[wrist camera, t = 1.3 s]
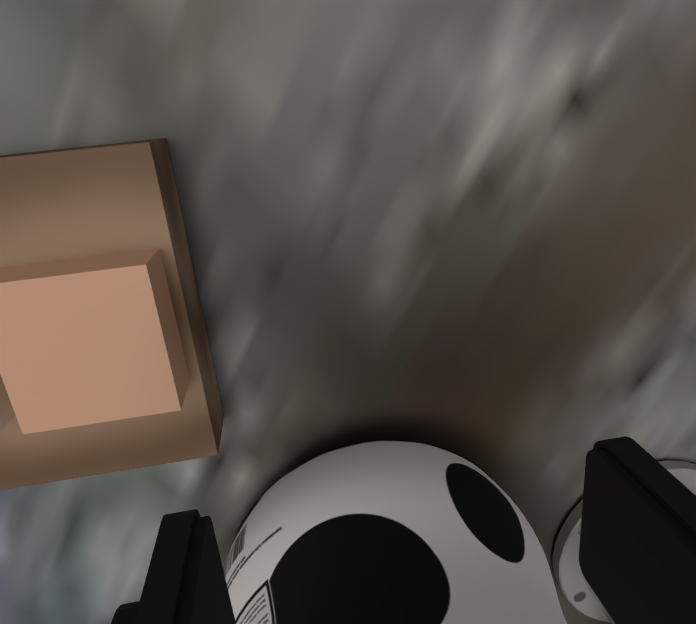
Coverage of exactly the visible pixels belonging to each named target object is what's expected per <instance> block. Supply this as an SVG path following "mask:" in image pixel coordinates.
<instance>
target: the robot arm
mask: <svg viewBox="0 0 696 624" xmlns="http://www.w3.org/2000/svg"><path fill="white" fill-rule="evenodd" d="M552 559H553V572H554V575H555V578H556V581H557V584H558V586H559V587H560V589H561V590H562V592H563V594H564V596H565V597H566V599H567V600H568V601H569V602H570V604H571V605H572V606H573V607H574V608H575V609H576V610H578V611H579V612H581V613H582V614H584V615H586V616H588V617H591V618H593V619H596V620H599V621H605V622H611V623H612V624H696V464H693V463H689V462H685V461H660V462H658V461H657V460H655V459H654V458H653V457H652V456H651V455H650V454H649V453H648V452H646V451H645V450H644V449H643V448H642V447H641V446H640V445H639V444H638V443H636V442H635V441H634V440H633V439H631V438H630V437H620V438H614V439H608V440H602V441H598V442H596V443H595V445H594V447H593V450H591V451H588V453H587V456H586V466H585V480H584V493H583V499H582V500H581V501H580V503H579V504H578V505H577V506H576V507H575V508H574V510H573V511H572V512H571V513H570V515H569V516H568V518H567V520H566V521H565V523H564V524H563V526H562V528H561V530H560V532H559V535H558V537H557V540H556V542H555V546H554V552H553V558H552ZM111 624H236V622H235V617H234V613H233V609H232V605H231V601H230V596H229V592H228V588H227V584H226V579H225V575H224V571H223V567H222V563H221V558H220V554H219V550H218V546H217V541H216V537H215V533H214V529H213V524H212V521H211V518H210V516H205V517H200V514H199V512H198V510H196V509H195V510H189V511H183V512H178V513H172V514H166V515H164V516H163V518H162V521H161V525H160V528H159V532H158V536H157V539H156V543H155V547H154V551H153V554H152V558H151V562H150V566H149V569H148V573H147V577H146V580H145V584H144V588H143V592H142V595H141V599H140V601H138V602H133V603H127V604H123V605H120V606H119V607H118V609H117V610H116V612H115V614H114V617H113V619H112V622H111Z"/></svg>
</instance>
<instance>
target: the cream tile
mask: <svg viewBox="0 0 696 624" xmlns="http://www.w3.org/2000/svg"><path fill="white" fill-rule="evenodd" d="M14 416H15V412H14V409H13V407H12V404H11V401H10V399H9V396H8V393H7V391H6V388H5V385H4V383H3V380H2V377H1V374H0V433H1V432H2V430H3V429H4V428H5V427H6V426H7V425H8V423H9V422H10V421H11V420H12V419H13V417H14Z"/></svg>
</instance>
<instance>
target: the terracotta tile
mask: <svg viewBox="0 0 696 624" xmlns="http://www.w3.org/2000/svg"><path fill="white" fill-rule="evenodd" d="M0 374H1V377H2V380H3V383H4V385H5V388H6V391H7V393H8V396H9V399H10V401H11V404H12V407H13V409H14V412H15V415H16V418H17V420H18V423H19V426H20V428H21V431H22V434H29V433H36V432H42V431H49V430H55V429H62V428H69V427H75V426H82V425H88V424H95V423H101V422H108V421H114V420H121V419H127V418H134V417H140V416H147V415H154V414H160V413H167V412H173V411H180V410H181V409H182V406H183V402H184V399H185V396H186V392H187V389H188V386H189V382H190V379H189V375H188V371H187V366H186V362H185V357H184V353H183V349H182V344H181V340H180V336H179V331H178V327H177V323H176V318H175V314H174V309H173V305H172V301H171V296H170V292H169V288H168V283H167V279H166V274H165V270H164V266H163V261H162V257H161V253H160V248H156V249H148V250H140V251H132V252H124V253H116V254H108V255H100V256H92V257H84V258H76V259H68V260H60V261H52V262H44V263H36V264H28V265H20V266H12V267H4V268H1V269H0Z"/></svg>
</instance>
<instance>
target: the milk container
mask: <svg viewBox="0 0 696 624" xmlns="http://www.w3.org/2000/svg"><path fill="white" fill-rule="evenodd" d="M223 571H224V575H225V579H226V584H227V588H228V592H229V596H230V601H231V605H232V609H233V613H234V617H235V622H236V624H567V623H566V620H565V618H564V616H563V613H562V610H561V607H560V604H559V600H558V596H557V593H556V589H555V585H554V581H553V578H552V574H551V571H550V568H549V565H548V562H547V559H546V556H545V553H544V551H543V548H542V546H541V544H540V542H539V540H538V538H537V536H536V534H535V533H534V531H533V529H532V527H531V526H530V524H529V523H528V521H527V520H526V518H525V517H524V515H523V514H522V512H521V511H520V509H519V508H518V507H517V506H516V504H515V503H514V502H513V501H512V500H511V499H510V497H509V496H508V495H507V494H506V493H505V492H504V491H503V490H502V489H501V488H500V487H499V486H498V485H497V484H496V483H495V482H494V481H493V480H492V479H491V478H490V477H489V476H487V475H486V474H485V473H484V472H483V471H482V470H481V469H479V468H478V467H477V466H475V465H474V464H473V463H471V462H469V461H467V460H466V459H464V458H462V457H460V456H458V455H456V454H454V453H451V452H448V451H446V450H443V449H440V448H437V447H434V446H431V445H427V444H424V443H418V442H410V441H392V440H373V441H367V442H362V443H357V444H353V445H349V446H345V447H341V448H337V449H334V450H331V451H328V452H325V453H322V454H320V455H318V456H316V457H314V458H312V459H310V460H308V461H307V462H305V463H303V464H302V465H300V466H298V467H297V468H295V469H293V470H292V471H290V472H289V473H287V474H286V475H284V476H283V477H282V478H280V479H279V480H278V481H277V482H276V483H275V484H274V485H273V486H272V487H271V488H270V489H269V490H268V491H267V492H266V493H265V494H264V495H263V496H262V497H261V498H260V499H259V500H258V501H257V502H256V503H255V505H254V506H253V507H252V509H251V510H250V511H249V512H248V514H247V515H246V517H245V519H244V520H243V522H242V523H241V525H240V527H239V529H238V531H237V533H236V536H235V538H234V541H233V544H232V546H231V549H230V551H229V554H228V557H227V560H226V563H225V566H224V570H223Z"/></svg>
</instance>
